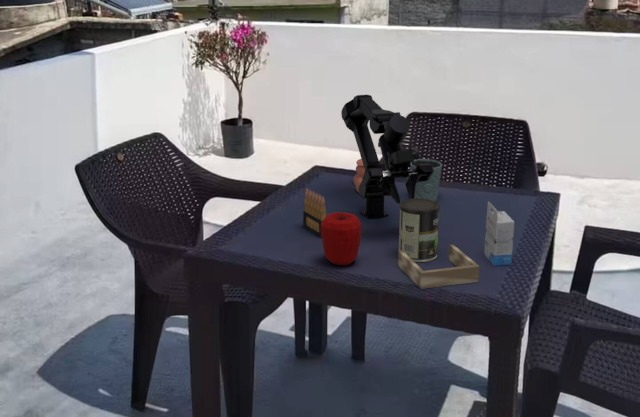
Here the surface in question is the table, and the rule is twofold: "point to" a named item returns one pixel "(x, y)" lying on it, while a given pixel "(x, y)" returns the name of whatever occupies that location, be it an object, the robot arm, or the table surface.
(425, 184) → the green cup
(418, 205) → the coffee can
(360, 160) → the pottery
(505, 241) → the ink box
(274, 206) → the table surface
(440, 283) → the corral
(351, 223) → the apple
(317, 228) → the ammunition clip
